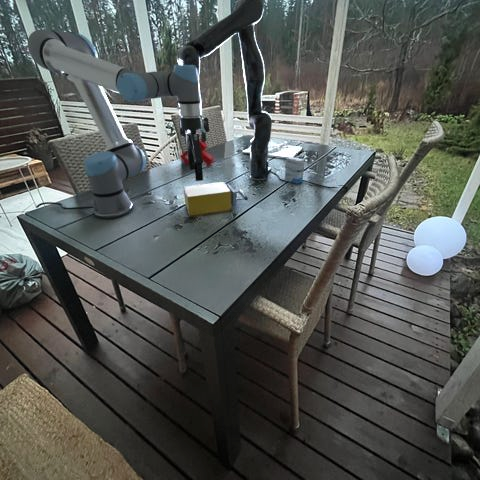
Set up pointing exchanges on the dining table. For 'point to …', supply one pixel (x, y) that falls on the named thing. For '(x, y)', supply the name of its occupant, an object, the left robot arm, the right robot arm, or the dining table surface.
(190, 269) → the dining table surface
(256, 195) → the dining table surface
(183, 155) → the toy gun
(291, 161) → the ink box
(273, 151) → the relief map
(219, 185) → the yellow rectangular box
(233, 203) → the drawer
